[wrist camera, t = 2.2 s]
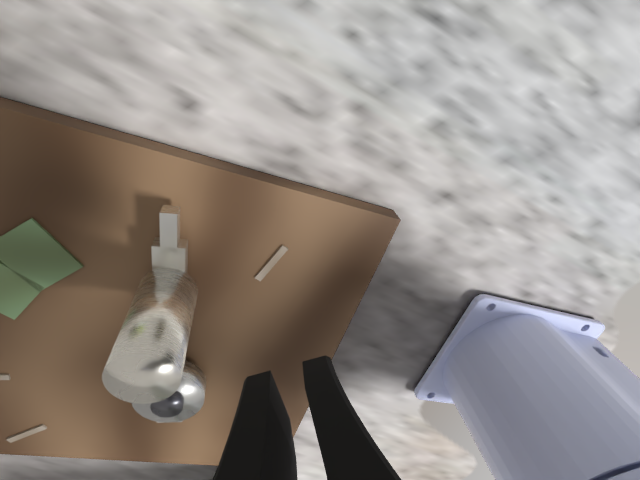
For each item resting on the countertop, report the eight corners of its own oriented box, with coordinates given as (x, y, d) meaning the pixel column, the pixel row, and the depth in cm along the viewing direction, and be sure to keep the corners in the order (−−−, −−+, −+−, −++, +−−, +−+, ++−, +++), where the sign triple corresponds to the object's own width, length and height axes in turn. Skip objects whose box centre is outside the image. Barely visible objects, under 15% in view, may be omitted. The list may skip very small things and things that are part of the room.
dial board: (393, 210, 18) (401, 221, 17) (276, 453, 25) (277, 470, 24) (-43, 84, 13) (-67, 89, 12) (-27, 433, 20) (-40, 453, 19)
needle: (204, 409, 20) (192, 518, 16) (138, 410, 19) (105, 525, 15) (216, 209, 15) (201, 289, 10) (125, 201, 14) (68, 282, 10)
